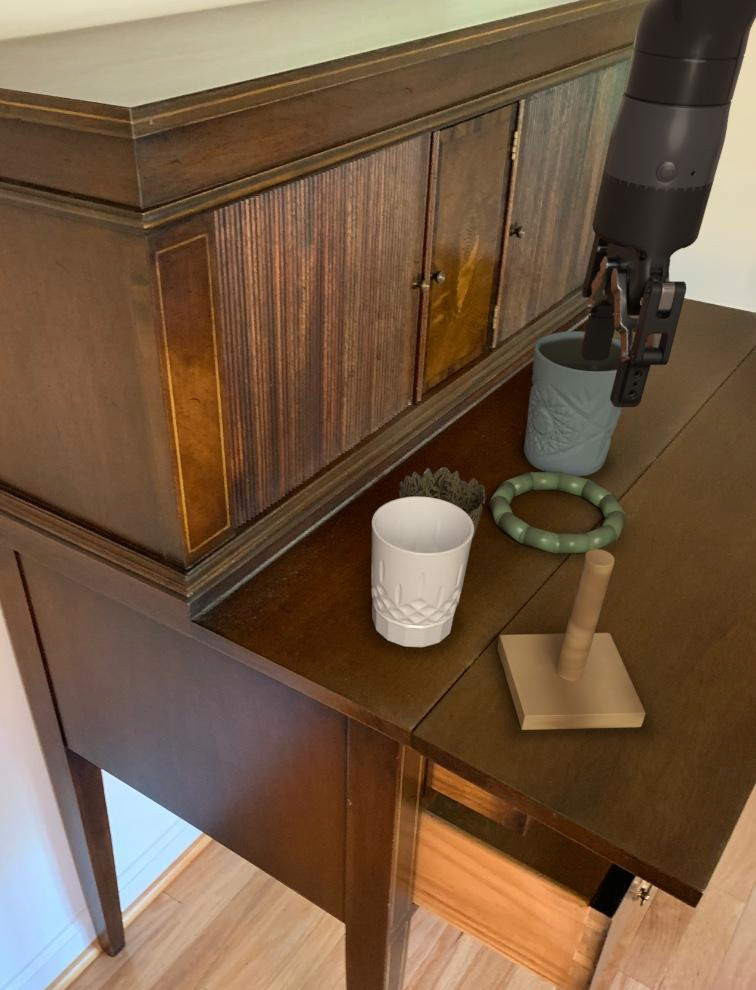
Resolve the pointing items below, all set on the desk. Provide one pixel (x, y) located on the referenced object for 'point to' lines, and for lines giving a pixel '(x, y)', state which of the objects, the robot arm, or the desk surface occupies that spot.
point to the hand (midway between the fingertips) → (608, 380)
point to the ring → (551, 540)
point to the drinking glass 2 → (570, 406)
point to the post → (572, 666)
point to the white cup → (418, 568)
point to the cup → (447, 491)
